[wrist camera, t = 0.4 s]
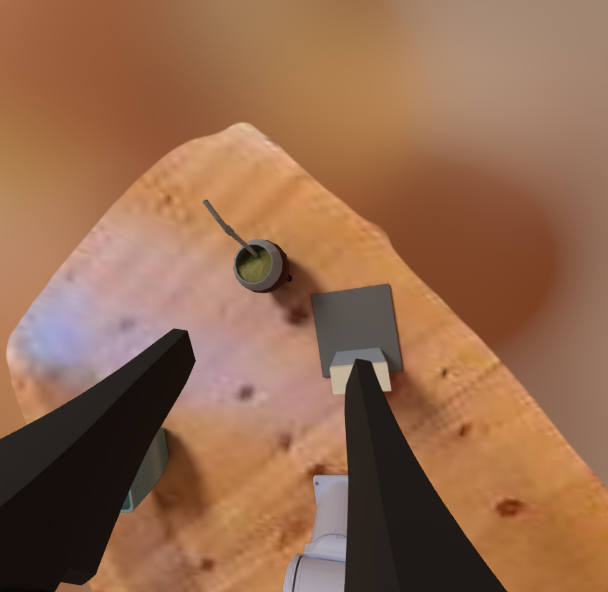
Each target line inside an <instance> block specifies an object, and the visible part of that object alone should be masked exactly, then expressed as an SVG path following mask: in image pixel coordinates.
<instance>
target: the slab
mask: <svg viewBox="0 0 608 592" xmlns="http://www.w3.org/2000/svg"><path fill="white" fill-rule="evenodd" d="M356 358H357V359H363V360H369V361H371V362H372V364H373V367H374V370H375V373H376V375H377V378H378V381H379V383H380V386H381V388H382V390H383V391H391V386H390V379H389V373H388V366H387V362H386V360H385V358H384V356H383V354H382V351H381V349H380V348H370V349H360V350H350V351H340V352H336V355H335V357H334V359H333V362H332V364H331V367H330V374H331V381H332V388H333V395H334V394H345V390H346V384H347V381H348V378H349V375H350V373H351V370H352V367H353V364H354V361H355V359H356Z"/></svg>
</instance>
